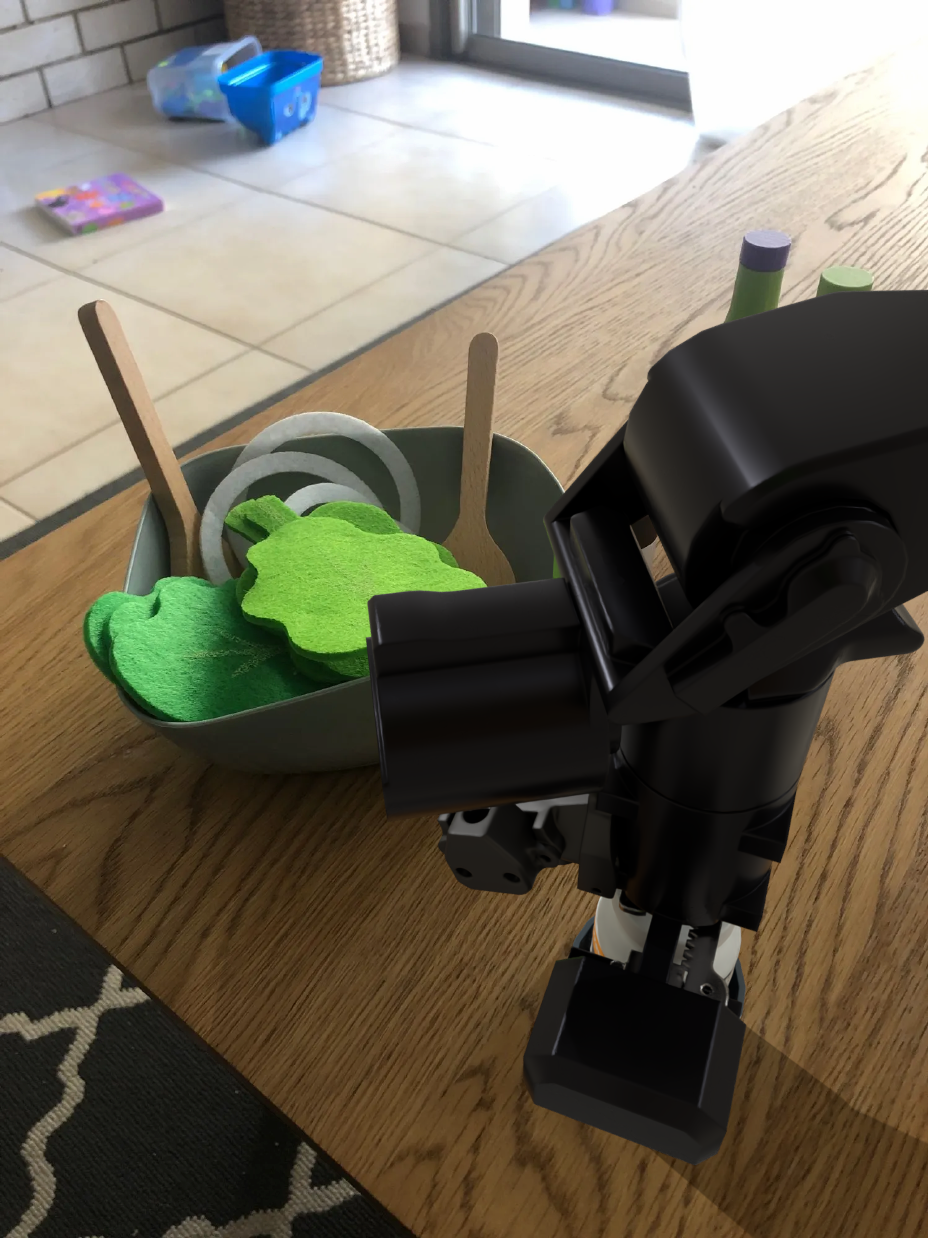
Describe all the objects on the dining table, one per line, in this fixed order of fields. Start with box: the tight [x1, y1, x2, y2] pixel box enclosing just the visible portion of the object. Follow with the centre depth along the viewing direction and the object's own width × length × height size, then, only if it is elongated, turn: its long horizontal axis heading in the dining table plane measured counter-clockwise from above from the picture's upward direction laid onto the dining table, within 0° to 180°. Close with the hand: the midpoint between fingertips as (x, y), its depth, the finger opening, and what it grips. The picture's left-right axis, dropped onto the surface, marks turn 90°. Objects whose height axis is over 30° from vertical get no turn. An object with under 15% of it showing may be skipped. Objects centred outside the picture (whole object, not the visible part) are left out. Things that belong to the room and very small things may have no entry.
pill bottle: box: [590, 889, 742, 986], centre depth 40 cm, size 6×6×10 cm
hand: (658, 975), depth 42 cm, fingers closed on pill bottle, 6 cm apart
